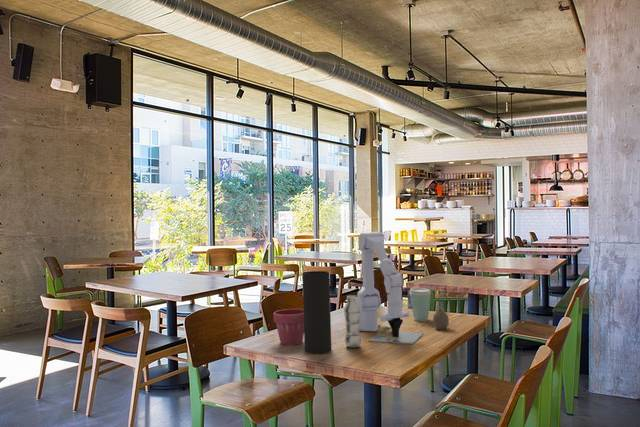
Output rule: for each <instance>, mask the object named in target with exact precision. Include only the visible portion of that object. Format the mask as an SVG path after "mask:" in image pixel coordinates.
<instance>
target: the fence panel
mask: <svg viewBox="0 0 640 427" xmlns="http://www.w3.org/2000/svg"><path fill="white" fill-rule="evenodd" d="M392 338H393V335H392V329H390V330H386V340H390V339H392Z"/></svg>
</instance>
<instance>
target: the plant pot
mask: <svg viewBox="0 0 640 427" xmlns="http://www.w3.org/2000/svg"><path fill="white" fill-rule="evenodd" d="M273 322H274V323H275V325H276V329H277V333H278V338H279V342H280V344H281V343H282V344H281V345H284V344H285V345H286V346H294V344H295V345H300V344H302V343H304V310H303V308H286V309H280V310H279V309H278V310H276V311H274V312H273Z"/></svg>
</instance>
